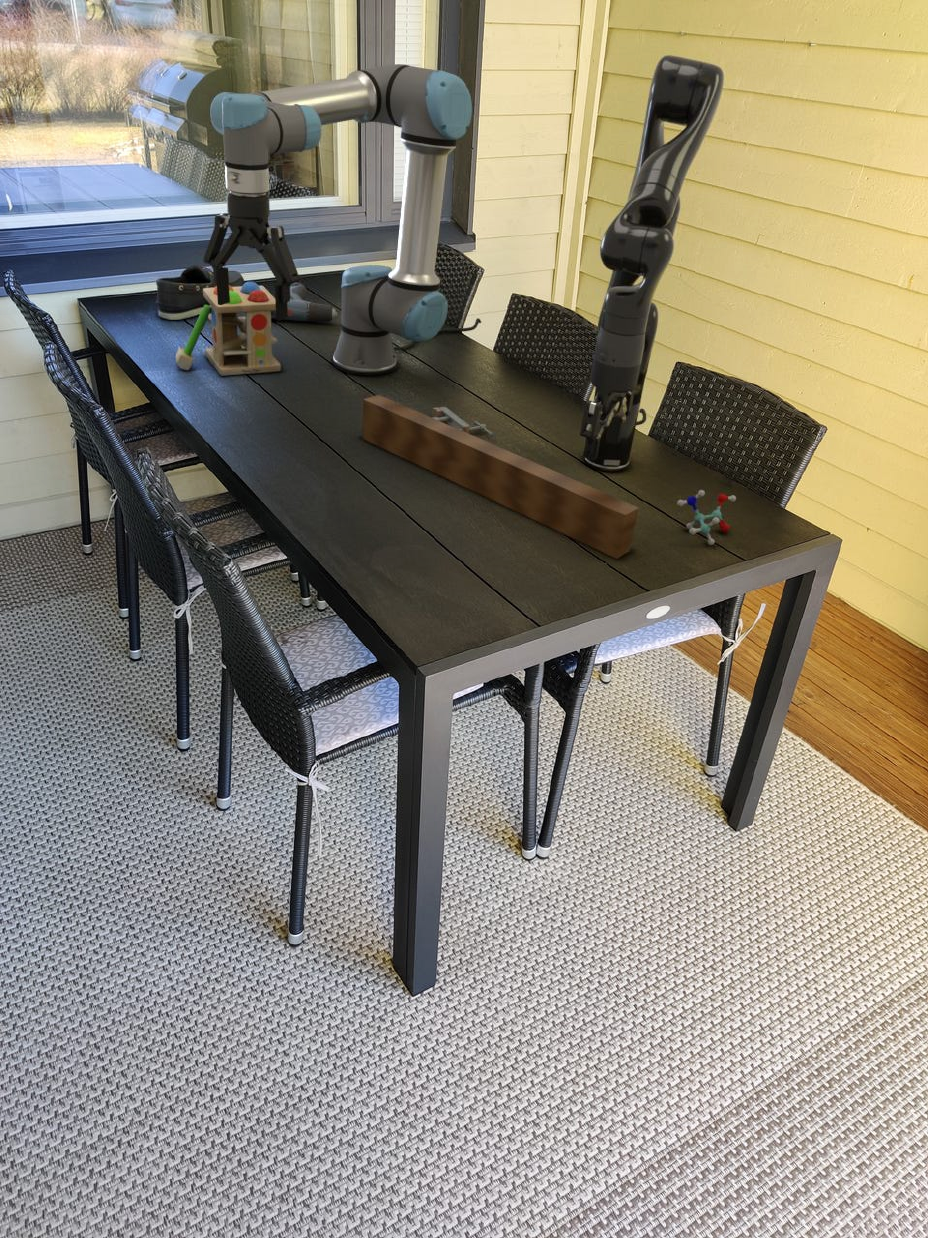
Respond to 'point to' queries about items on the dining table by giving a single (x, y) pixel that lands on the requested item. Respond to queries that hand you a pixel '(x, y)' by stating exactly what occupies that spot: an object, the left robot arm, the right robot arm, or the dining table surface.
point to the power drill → (305, 307)
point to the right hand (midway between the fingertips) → (601, 450)
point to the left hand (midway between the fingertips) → (252, 310)
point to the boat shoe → (188, 292)
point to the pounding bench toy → (229, 347)
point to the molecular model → (700, 517)
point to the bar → (502, 476)
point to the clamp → (456, 421)
